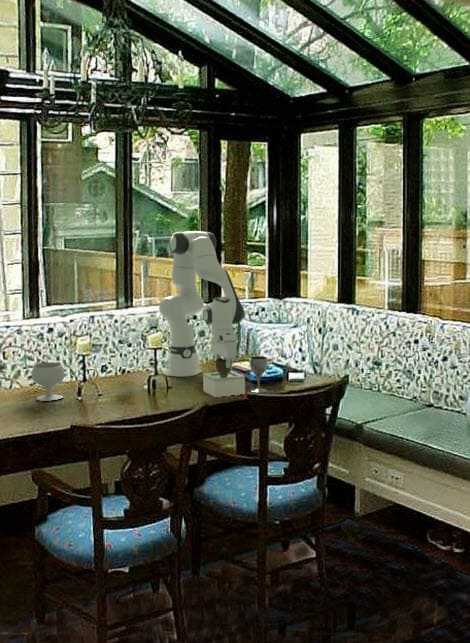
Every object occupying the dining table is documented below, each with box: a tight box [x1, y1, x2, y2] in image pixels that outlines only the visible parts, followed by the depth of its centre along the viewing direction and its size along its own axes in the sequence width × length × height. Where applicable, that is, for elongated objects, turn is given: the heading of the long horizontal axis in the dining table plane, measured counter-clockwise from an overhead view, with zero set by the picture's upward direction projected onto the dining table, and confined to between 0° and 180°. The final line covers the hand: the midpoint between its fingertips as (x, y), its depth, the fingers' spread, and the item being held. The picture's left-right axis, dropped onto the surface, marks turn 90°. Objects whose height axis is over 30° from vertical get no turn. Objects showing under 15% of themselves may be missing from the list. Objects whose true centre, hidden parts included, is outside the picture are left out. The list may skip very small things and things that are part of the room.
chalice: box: [31, 362, 66, 402], centre depth 384 cm, size 14×14×15 cm
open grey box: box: [202, 370, 246, 398], centre depth 391 cm, size 14×14×8 cm
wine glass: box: [249, 355, 268, 394], centre depth 393 cm, size 8×8×15 cm
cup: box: [214, 357, 233, 378], centre depth 390 cm, size 8×7×8 cm
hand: (223, 365), depth 390 cm, fingers open, 8 cm apart
